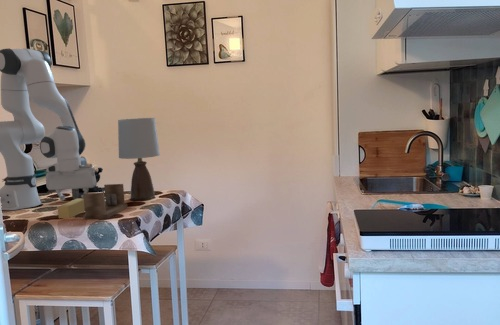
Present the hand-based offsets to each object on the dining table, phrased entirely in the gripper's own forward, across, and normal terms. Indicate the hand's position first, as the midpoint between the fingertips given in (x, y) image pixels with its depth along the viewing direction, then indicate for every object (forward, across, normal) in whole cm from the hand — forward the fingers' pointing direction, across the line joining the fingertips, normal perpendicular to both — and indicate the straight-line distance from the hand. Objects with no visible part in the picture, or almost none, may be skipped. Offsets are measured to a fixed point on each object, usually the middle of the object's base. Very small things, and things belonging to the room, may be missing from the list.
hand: (73, 199), depth 191 cm
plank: (+6, +1, 0) cm, 6 cm away
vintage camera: (+6, +9, -34) cm, 36 cm away
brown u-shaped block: (+6, -13, 0) cm, 15 cm away
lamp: (+6, -18, -30) cm, 36 cm away
